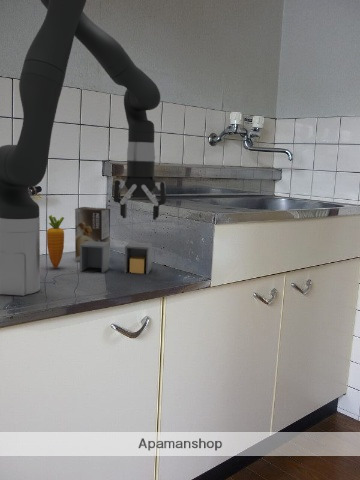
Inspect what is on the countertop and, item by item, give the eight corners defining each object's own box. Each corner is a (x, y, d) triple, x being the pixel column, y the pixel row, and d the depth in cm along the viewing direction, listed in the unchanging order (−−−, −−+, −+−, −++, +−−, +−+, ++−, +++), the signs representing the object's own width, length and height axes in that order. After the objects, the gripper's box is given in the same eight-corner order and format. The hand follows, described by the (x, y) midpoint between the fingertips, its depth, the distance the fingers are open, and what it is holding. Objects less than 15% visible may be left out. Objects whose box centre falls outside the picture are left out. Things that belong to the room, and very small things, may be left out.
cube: (143, 273, 136) (144, 259, 136) (129, 272, 137) (129, 258, 136) (146, 270, 140) (146, 256, 140) (132, 269, 141) (132, 256, 140)
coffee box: (110, 260, 152) (111, 208, 150) (101, 264, 146) (102, 210, 143) (84, 257, 155) (84, 206, 152) (74, 261, 149) (74, 208, 146)
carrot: (67, 266, 140) (67, 214, 138) (61, 270, 136) (61, 216, 133) (50, 265, 141) (49, 213, 139) (43, 269, 136) (43, 215, 134)
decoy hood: (103, 273, 135) (103, 246, 134) (80, 271, 135) (80, 244, 134) (109, 268, 141) (109, 242, 140) (86, 266, 142) (87, 241, 140)
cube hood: (147, 274, 136) (148, 247, 134) (124, 272, 136) (125, 246, 135) (151, 269, 142) (152, 243, 141) (129, 267, 143) (129, 242, 141)
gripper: (111, 158, 131) (111, 219, 134) (165, 160, 130) (163, 221, 132) (118, 158, 138) (117, 215, 141) (168, 160, 137) (166, 218, 140)
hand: (139, 218), depth 137 cm, fingers open, 8 cm apart
